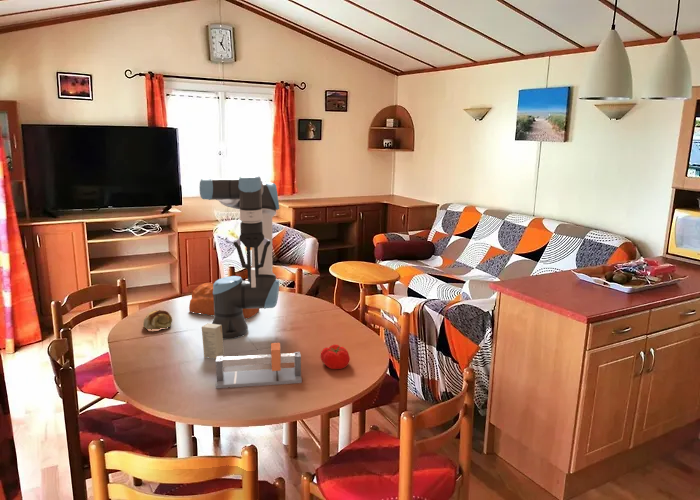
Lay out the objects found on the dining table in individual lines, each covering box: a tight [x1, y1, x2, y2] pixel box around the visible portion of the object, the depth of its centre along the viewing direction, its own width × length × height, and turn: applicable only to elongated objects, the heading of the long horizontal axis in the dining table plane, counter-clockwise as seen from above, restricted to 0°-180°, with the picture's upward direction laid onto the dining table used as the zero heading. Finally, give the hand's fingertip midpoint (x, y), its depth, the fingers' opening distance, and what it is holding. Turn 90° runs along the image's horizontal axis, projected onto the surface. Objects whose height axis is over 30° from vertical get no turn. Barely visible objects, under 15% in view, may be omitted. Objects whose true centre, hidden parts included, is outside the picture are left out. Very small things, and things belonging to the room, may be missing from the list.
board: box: [215, 367, 302, 389], centre depth 184 cm, size 28×10×1 cm, turn 99°
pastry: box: [143, 309, 173, 330], centre depth 231 cm, size 14×12×8 cm
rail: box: [215, 351, 302, 382], centre depth 183 cm, size 28×4×7 cm, turn 99°
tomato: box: [320, 344, 351, 370], centre depth 195 cm, size 10×11×6 cm
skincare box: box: [201, 322, 225, 360], centre depth 201 cm, size 6×4×12 cm
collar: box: [270, 342, 282, 371], centre depth 183 cm, size 3×6×8 cm, turn 9°
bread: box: [188, 282, 260, 320], centre depth 250 cm, size 16×31×13 cm, turn 72°
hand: (253, 286), depth 192 cm, fingers closed
